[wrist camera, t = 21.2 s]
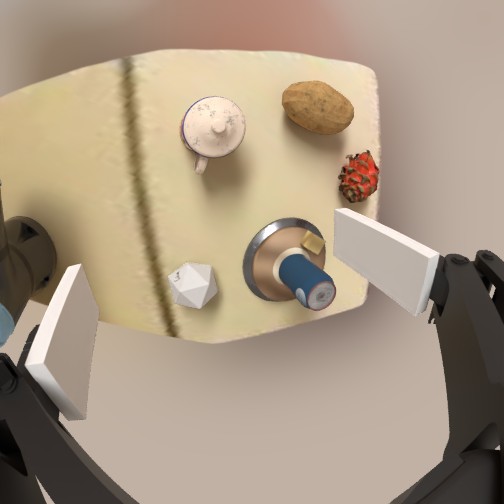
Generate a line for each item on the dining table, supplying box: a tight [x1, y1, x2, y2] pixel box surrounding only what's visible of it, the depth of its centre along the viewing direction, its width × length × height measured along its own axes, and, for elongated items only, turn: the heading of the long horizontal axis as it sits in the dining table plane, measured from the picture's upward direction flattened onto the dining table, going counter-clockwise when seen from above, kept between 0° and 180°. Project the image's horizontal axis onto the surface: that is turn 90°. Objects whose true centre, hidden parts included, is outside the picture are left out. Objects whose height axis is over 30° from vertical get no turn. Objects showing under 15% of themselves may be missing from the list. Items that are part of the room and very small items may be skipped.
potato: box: [282, 81, 354, 135], centre depth 45 cm, size 10×14×8 cm
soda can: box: [279, 254, 336, 311], centre depth 52 cm, size 7×7×12 cm
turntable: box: [251, 226, 326, 301], centre depth 57 cm, size 16×16×5 cm
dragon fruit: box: [338, 150, 379, 203], centre depth 54 cm, size 8×8×12 cm
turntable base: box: [243, 218, 326, 301], centre depth 60 cm, size 19×19×1 cm
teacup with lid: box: [179, 97, 245, 175], centre depth 40 cm, size 12×9×12 cm
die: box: [168, 262, 218, 309], centre depth 51 cm, size 8×9×10 cm
